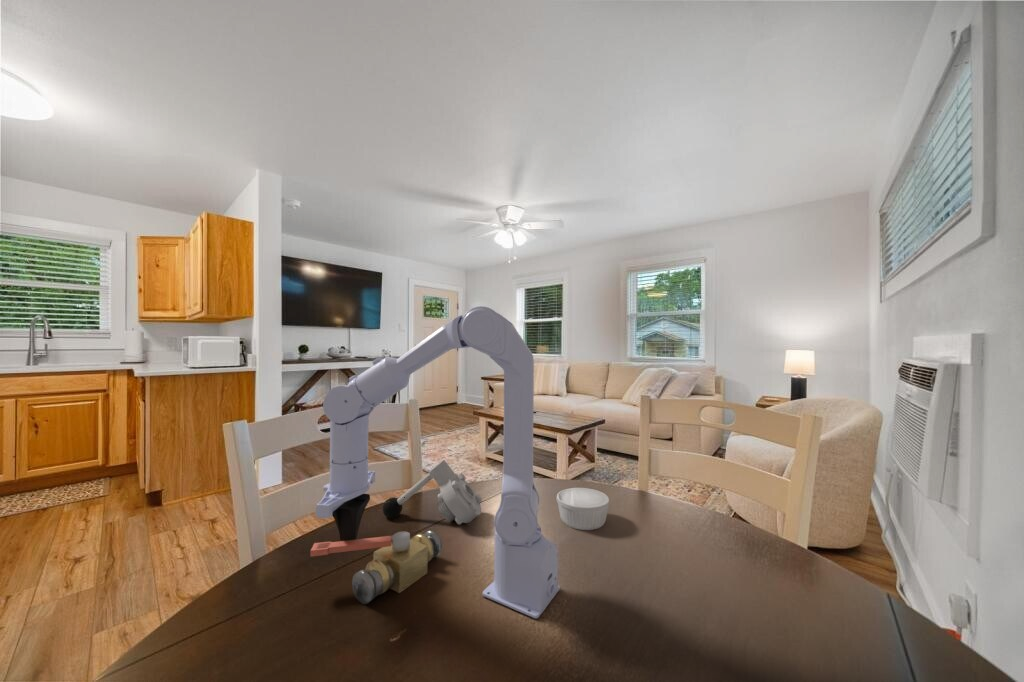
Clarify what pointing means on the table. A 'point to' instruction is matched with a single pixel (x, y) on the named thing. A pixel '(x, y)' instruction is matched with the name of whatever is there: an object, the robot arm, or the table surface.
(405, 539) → the lever
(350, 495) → the robot arm
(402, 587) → the valve pipe
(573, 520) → the ramekin
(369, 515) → the table surface
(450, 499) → the mechanical valve
